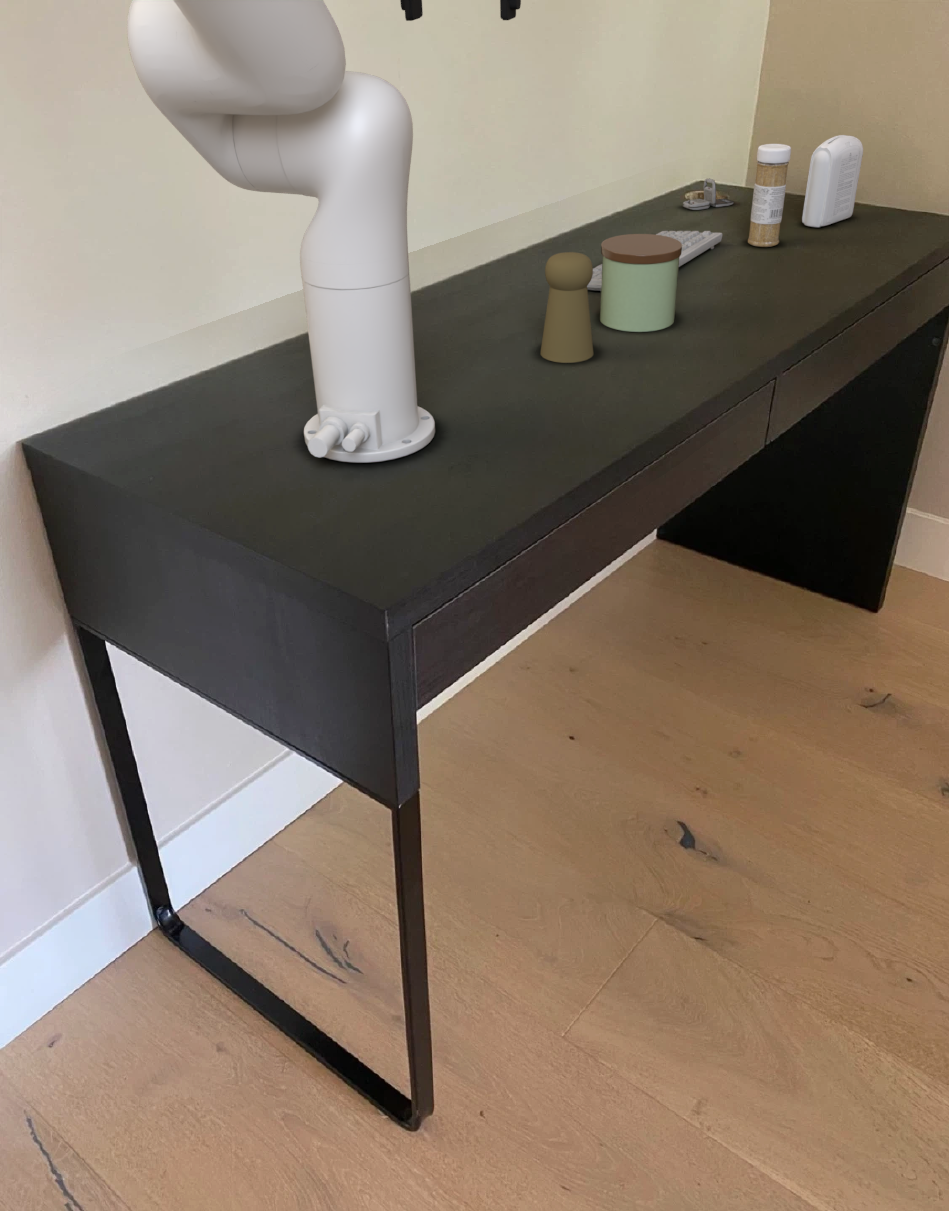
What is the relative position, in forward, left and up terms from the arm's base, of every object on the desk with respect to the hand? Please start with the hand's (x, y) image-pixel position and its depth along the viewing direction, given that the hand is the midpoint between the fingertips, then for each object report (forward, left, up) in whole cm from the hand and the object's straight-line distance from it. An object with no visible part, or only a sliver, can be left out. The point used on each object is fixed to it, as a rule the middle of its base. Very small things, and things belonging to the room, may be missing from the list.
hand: (460, 18), depth 101 cm
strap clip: (+73, -20, -34) cm, 83 cm away
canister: (+14, -17, -33) cm, 40 cm away
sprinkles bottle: (+51, -30, -34) cm, 68 cm away
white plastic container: (+66, -39, -34) cm, 84 cm away
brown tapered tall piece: (+1, -11, -34) cm, 35 cm away
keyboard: (+37, -15, -34) cm, 52 cm away
